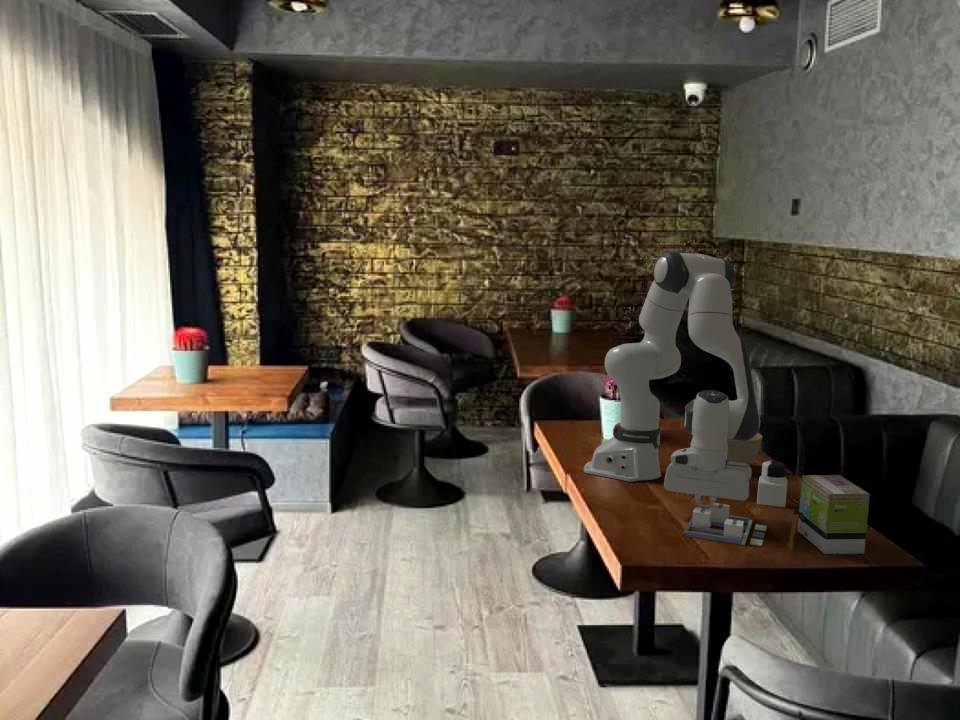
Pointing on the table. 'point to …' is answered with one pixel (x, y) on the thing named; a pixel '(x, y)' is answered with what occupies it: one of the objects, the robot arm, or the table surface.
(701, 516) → the white slotted cube
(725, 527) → the tab
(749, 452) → the planter bowl
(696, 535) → the switch bank
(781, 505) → the medicine bottle
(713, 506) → the tab
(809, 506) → the tea box
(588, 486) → the table surface
